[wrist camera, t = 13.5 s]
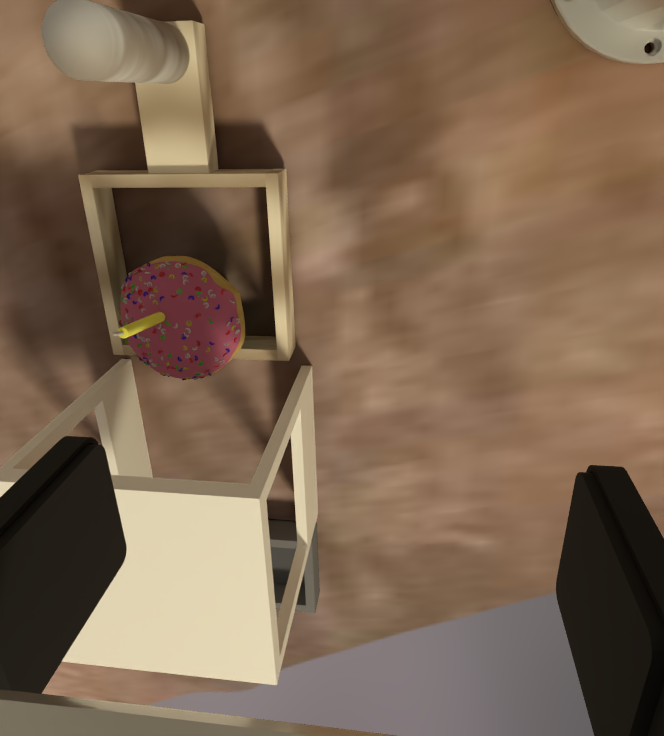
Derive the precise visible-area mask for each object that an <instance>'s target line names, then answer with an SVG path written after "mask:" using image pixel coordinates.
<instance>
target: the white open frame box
mask: <svg viewBox="0 0 664 736" xmlns="http://www.w3.org/2000/svg"><path fill="white" fill-rule="evenodd" d="M93 409H94V410H95V414H96V419H97V423H98V428H99V432H100V437H101V441H102V446H103V447H104V448H105V451H106V455H107V460H108V464H109V469H110V473H111V478H112V482H113V487H114V491H115V496H116V500H117V505H118V509H119V514H120V519H121V523H122V528H123V532H124V537H125V541H126V547H127V551H126V557H125V560H124V563H123V565H122V566H121V568H120V570H119V571H118V573H117V574H116V576H115V577H114V579H113V581H112V582H111V584H110V585H109V587H108V589H107V590H106V592H105V593H104V595H103V596H102V598H101V600H100V601H99V603H98V604H97V606H96V608H95V609H94V611H93V612H92V614H91V616H90V617H89V619H88V620H87V622H86V623H85V625H84V627H83V628H82V630H81V631H80V633H79V635H78V636H77V638H76V639H75V641H74V642H73V644H72V646H71V647H70V649H69V650H68V652H67V654H66V655H65V657H64V658H63V660H62V662H71V663H80V664H89V665H98V666H107V667H116V668H126V669H135V670H144V671H153V672H162V673H171V674H180V675H189V676H198V677H207V678H216V679H226V680H235V681H244V682H253V683H262V684H271V685H277V682H278V677H279V673H280V669H281V665H282V661H283V657H284V653H285V649H286V644H287V640H288V636H289V632H290V628H291V624H292V620H293V615H294V611H295V607H296V603H297V599H298V595H299V590H300V586H301V582H302V578H303V574H304V570H305V566H306V561H307V557H308V553H309V549H310V545H311V541H312V537H313V532H314V528H315V524H316V520H317V516H318V501H317V476H316V452H315V428H314V403H313V379H312V366H305V365H302V366H301V368H300V370H299V372H298V375H297V377H296V379H295V382H294V384H293V386H292V389H291V391H290V393H289V396H288V398H287V400H286V402H285V405H284V407H283V409H282V412H281V414H280V416H279V419H278V421H277V423H276V426H275V428H274V430H273V432H272V435H271V437H270V439H269V442H268V444H267V446H266V449H265V451H264V453H263V456H262V458H261V460H260V462H259V465H258V467H257V469H256V472H255V474H254V476H253V479H252V481H251V483H250V484H246V483H230V482H215V481H199V480H183V479H168V478H153V475H152V470H151V464H150V459H149V454H148V448H147V443H146V437H145V432H144V427H143V421H142V416H141V410H140V405H139V399H138V394H137V389H136V383H135V378H134V372H133V367H132V362H131V359H121V360H120V361H119V362H117V363H116V364H115V365H114V366H113V367H112V368H111V369H110V370H108V371H107V372H106V373H105V374H104V375H103V376H102V377H101V378H99V379H98V380H97V381H96V382H95V383H94V384H93V385H92V386H90V387H89V388H88V389H87V390H86V391H85V392H84V393H83V394H81V395H80V396H79V397H78V398H77V399H76V400H75V401H74V402H72V403H71V404H70V405H69V406H68V407H67V408H66V409H65V410H63V411H62V412H61V413H60V414H59V415H58V416H57V417H56V418H54V419H53V420H52V421H51V422H50V423H49V424H48V425H47V426H45V427H44V428H43V429H42V430H41V431H40V432H39V433H38V434H36V435H35V436H34V437H33V438H32V439H31V440H30V441H29V442H27V443H26V444H25V445H24V446H23V447H22V448H21V449H20V450H18V451H17V452H16V453H15V454H14V455H13V456H12V457H11V458H9V459H8V460H7V461H6V462H5V463H4V464H3V465H2V466H0V497H1V496H2V495H3V494H4V493H5V492H6V491H7V490H8V489H9V488H10V487H11V486H12V485H13V484H14V483H16V482H17V481H18V480H19V479H20V478H21V477H22V476H23V475H24V474H25V473H26V472H27V471H28V470H29V469H30V468H31V467H32V466H33V465H34V464H35V463H36V462H37V461H38V460H39V459H40V458H42V457H43V456H44V455H45V454H46V453H47V452H48V451H49V450H50V449H51V448H52V447H53V446H54V445H55V444H56V443H57V442H58V441H59V440H60V439H62V438H63V437H65V436H66V435H67V434H68V433H69V432H70V431H71V430H72V429H73V428H74V427H75V426H76V425H77V424H78V423H79V422H81V421H82V420H83V419H84V418H85V417H86V416H87V415H88V414H89V413H90V412H91V411H92V410H93ZM290 436H291V448H292V464H293V480H294V497H295V513H296V529H297V548H296V551H295V555H294V559H293V562H292V566H291V570H290V573H289V577H288V581H287V585H286V588H285V592H284V596H283V599H282V603H281V607H280V610H279V614H278V618H277V617H276V606H275V594H274V582H273V571H272V559H271V548H270V536H269V525H268V513H267V502H266V500H267V497H268V494H269V492H270V489H271V486H272V484H273V481H274V478H275V476H276V473H277V471H278V468H279V465H280V463H281V460H282V457H283V455H284V452H285V449H286V447H287V444H288V441H289V439H290Z"/></svg>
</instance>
